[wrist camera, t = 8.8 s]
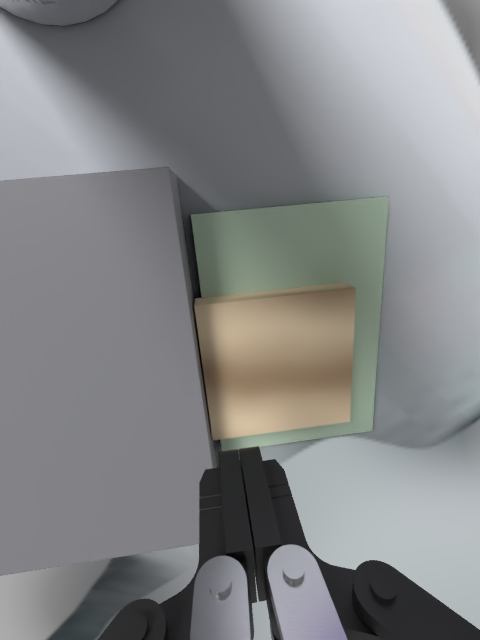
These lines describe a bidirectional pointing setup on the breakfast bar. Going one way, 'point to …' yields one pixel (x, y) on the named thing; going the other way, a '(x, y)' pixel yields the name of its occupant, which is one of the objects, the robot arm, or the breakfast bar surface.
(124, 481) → the gray rectangular box
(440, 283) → the breakfast bar surface
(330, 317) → the cork coaster
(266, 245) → the sage mat
